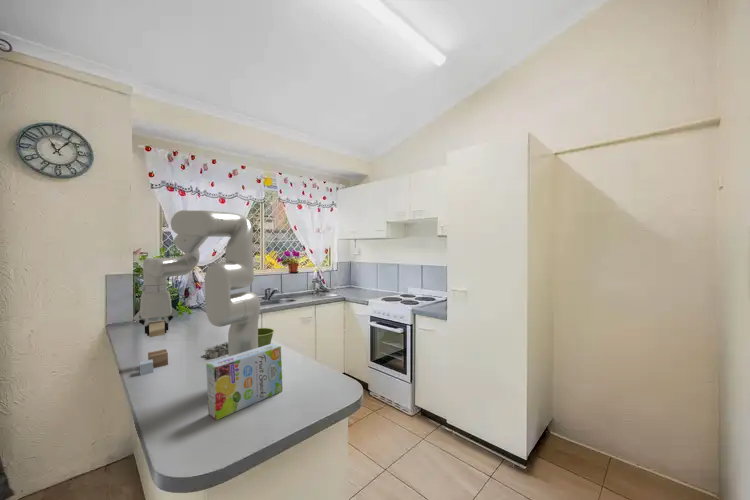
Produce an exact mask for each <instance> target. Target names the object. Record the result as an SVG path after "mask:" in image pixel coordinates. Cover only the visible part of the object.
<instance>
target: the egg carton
mask: <svg viewBox="0 0 750 500" xmlns="http://www.w3.org/2000/svg"><path fill="white" fill-rule="evenodd" d="M203 352H204V353H205V358H209V359H211V360H212V359H217V358H219V357H223V356H226V354H228V341H225V342H223V343H220V344H216V345H215V346H210V347H206V348H205V349H204V351H203Z"/></svg>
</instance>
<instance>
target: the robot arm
mask: <svg viewBox="0 0 750 500" xmlns="http://www.w3.org/2000/svg"><path fill="white" fill-rule="evenodd" d="M170 228H171V230H172V231H173V232H174V233H175V234H177V235H176V236H175V237H174V245H175V247H176V248H177V249H178V250H180V251H181V252H183V253H184V254H183V255H182V256H175V257H174V256H173V257H150V258H145V259H143V262H142V270H143V275H142V276H143V286H139V288H138V289H139V290H138V291H142V293H141V296H140V305H139V306H140V307H139V308H140V309H139V311H138V312H137V313H135V315H134V316H133V318H132V319H133V321H136V322H138V323H140V324H141V325H143V326H144V334H145V335H147V337H149V322H150V320H151V319H158V318H159V319H160V318H163V320H164V322H165V334H167V332H168V331H169V323H170V321H171V320H173V318H174V317H175V316H177V315H178V313H179V312H178V311H177V310H176V309H175V308H174V307H173V306H172V299H171V293H170V291H169V290H168V285H167V284H168V283H167V281H168V279H167V278H170V277H179V276H180V277H181V276H185V275H188V274H189V273H191V272H192V271H193V270H194V269H195V268H196V266H197V265H198V263H199V261H200V255H201V253H200V248H201V247H202V245H203V244H204V243H205V242H206V241H207V239H208V238H210V237H213V238H215V237H216V238H218V237H220V238H221V237H222V238H223V237H224V238H225V237H226V238H227V237H228V238H229V239H228V242H227V243H226V246H225V249H224V250H225V261H220V262H219V261H218V262H216V263H212V264H211V265H210V266H209V267H208V268H207V269H206V272H205V274H204V293H205V294H204V295H205V298H204V299H205V309H206V316H207V319H208V321H209V323H210V324H211V325H213V327H214V326H215V327H218V328H219V327H220V328H221V327H225V326H229V328H228V334H227V343H228V353H227V354H228V357H230V356H233V355H236V354H239V353H243V352H246V351H249V350H252V349H256V348H258V328H259V318H260V313H261V300H260V298H259V296H258V295H257V294H256V293H254V292H252V291H241V292H240V291H239V292H235V293H231V291H235V290H238V289H244V288H247V287H250V286H251V285H252V284H253V283H254V277H255V272H254V271H255V270H254V256H253V255H254V254H253V240H254V238H253V237H254V230H253V225H252V222H251V221H250V220H249V219H248V218H247V217H246V216H244V215H242V214H240V213H234V212H227V211H226V212H224V211H214V210H186V209H183V210H179V211H177V212H176V213H174V214H173V215H172V217H171V220H170Z"/></svg>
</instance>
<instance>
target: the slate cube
mask: <svg viewBox="0 0 750 500" xmlns="http://www.w3.org/2000/svg"><path fill="white" fill-rule="evenodd" d="M153 373H154V368H153V359H151V360H148V359H146V360H141V361H139V375H140V376H144V375H148V374H153Z"/></svg>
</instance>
